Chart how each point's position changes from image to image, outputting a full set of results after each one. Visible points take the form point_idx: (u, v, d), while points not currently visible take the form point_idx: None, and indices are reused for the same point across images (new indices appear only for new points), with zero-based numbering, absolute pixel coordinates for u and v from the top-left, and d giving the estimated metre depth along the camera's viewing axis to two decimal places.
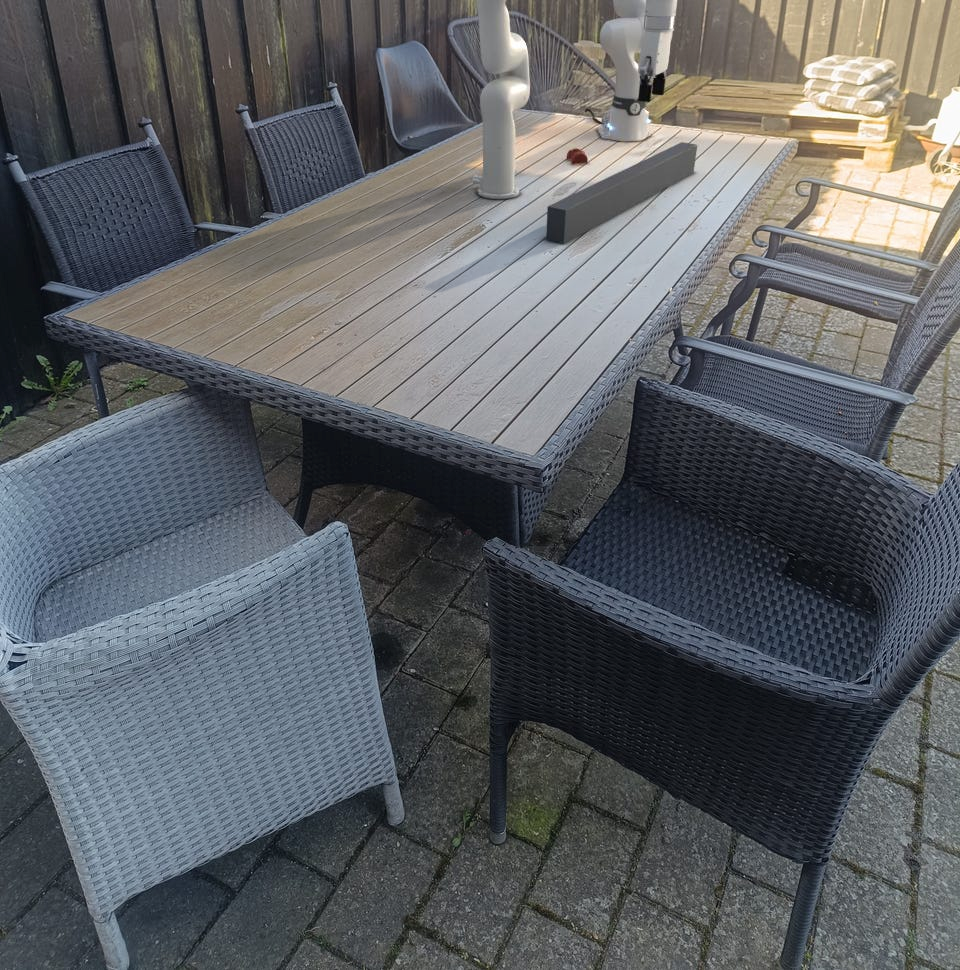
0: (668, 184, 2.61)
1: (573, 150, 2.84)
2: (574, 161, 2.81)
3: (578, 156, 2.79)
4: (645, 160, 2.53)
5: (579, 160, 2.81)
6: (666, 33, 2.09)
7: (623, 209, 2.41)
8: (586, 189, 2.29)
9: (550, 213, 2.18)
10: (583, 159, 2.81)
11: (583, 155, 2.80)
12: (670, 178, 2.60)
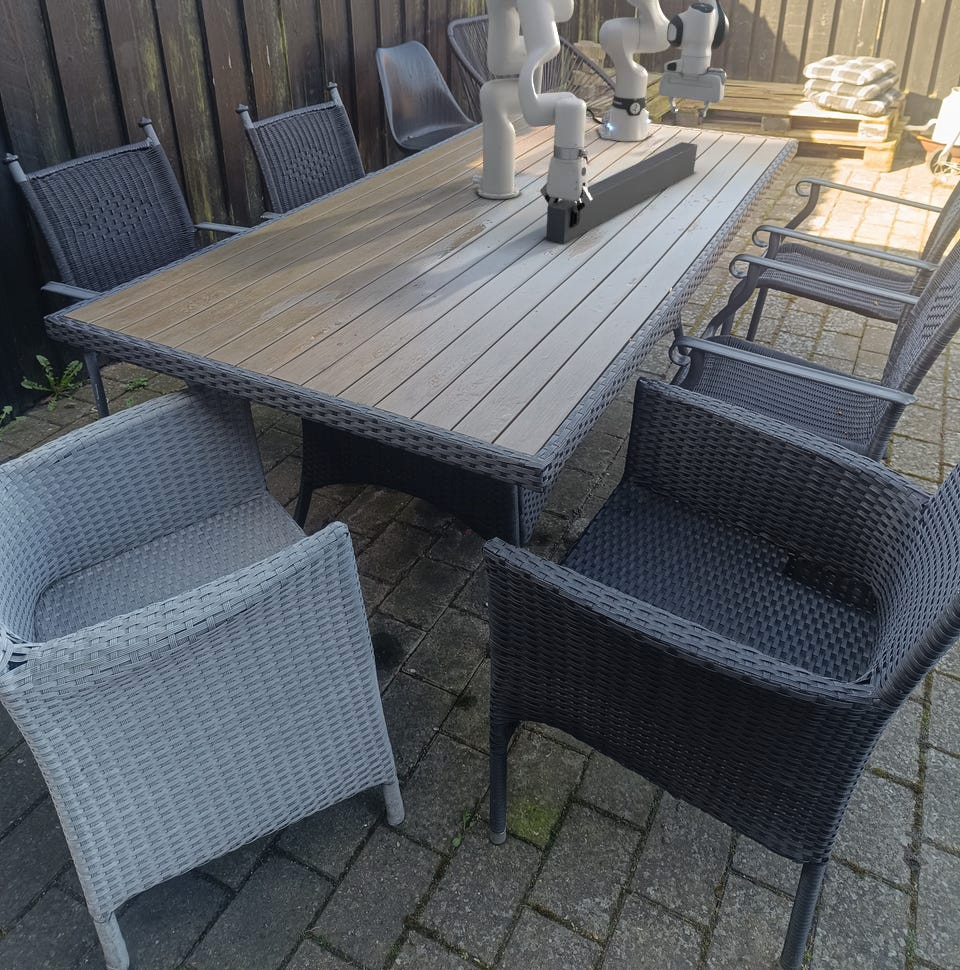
0: (668, 184, 2.61)
1: None
2: None
3: None
4: (645, 160, 2.53)
5: None
6: (559, 161, 2.11)
7: (623, 209, 2.41)
8: None
9: (550, 213, 2.18)
10: None
11: None
12: (670, 178, 2.60)
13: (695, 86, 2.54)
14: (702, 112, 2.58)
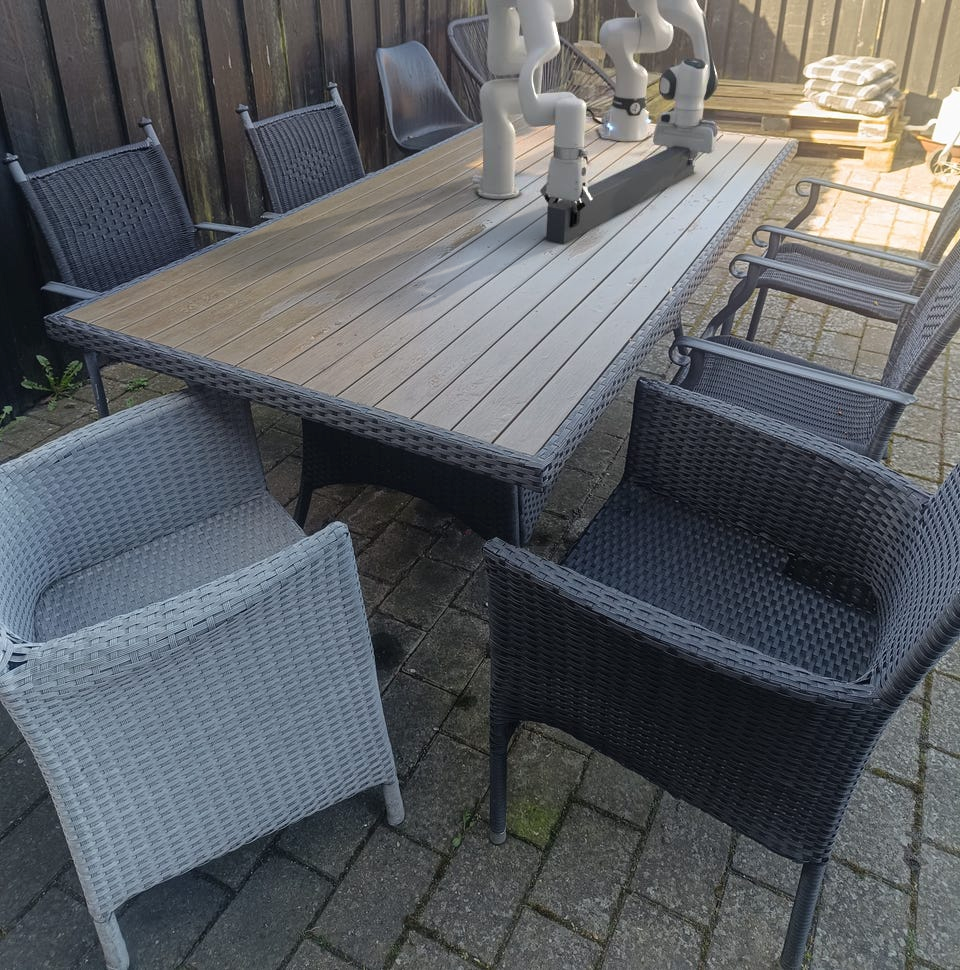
0: (668, 184, 2.61)
1: None
2: None
3: None
4: (645, 160, 2.53)
5: None
6: (559, 161, 2.11)
7: (623, 209, 2.41)
8: None
9: (550, 213, 2.18)
10: None
11: None
12: (670, 178, 2.60)
13: (688, 137, 2.63)
14: (691, 161, 2.67)
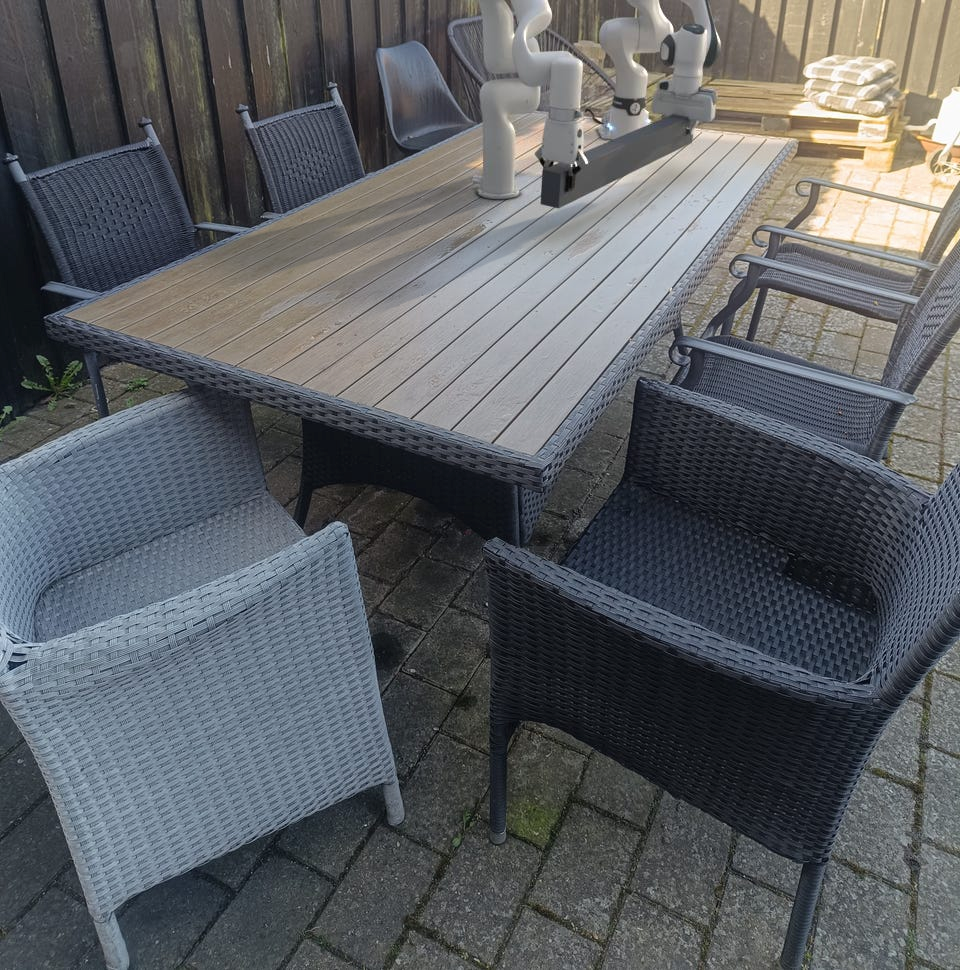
0: (666, 153, 2.56)
1: None
2: None
3: None
4: (643, 127, 2.48)
5: None
6: (555, 123, 2.06)
7: (620, 176, 2.37)
8: None
9: (544, 176, 2.13)
10: None
11: None
12: (668, 146, 2.55)
13: (687, 105, 2.58)
14: (690, 130, 2.62)
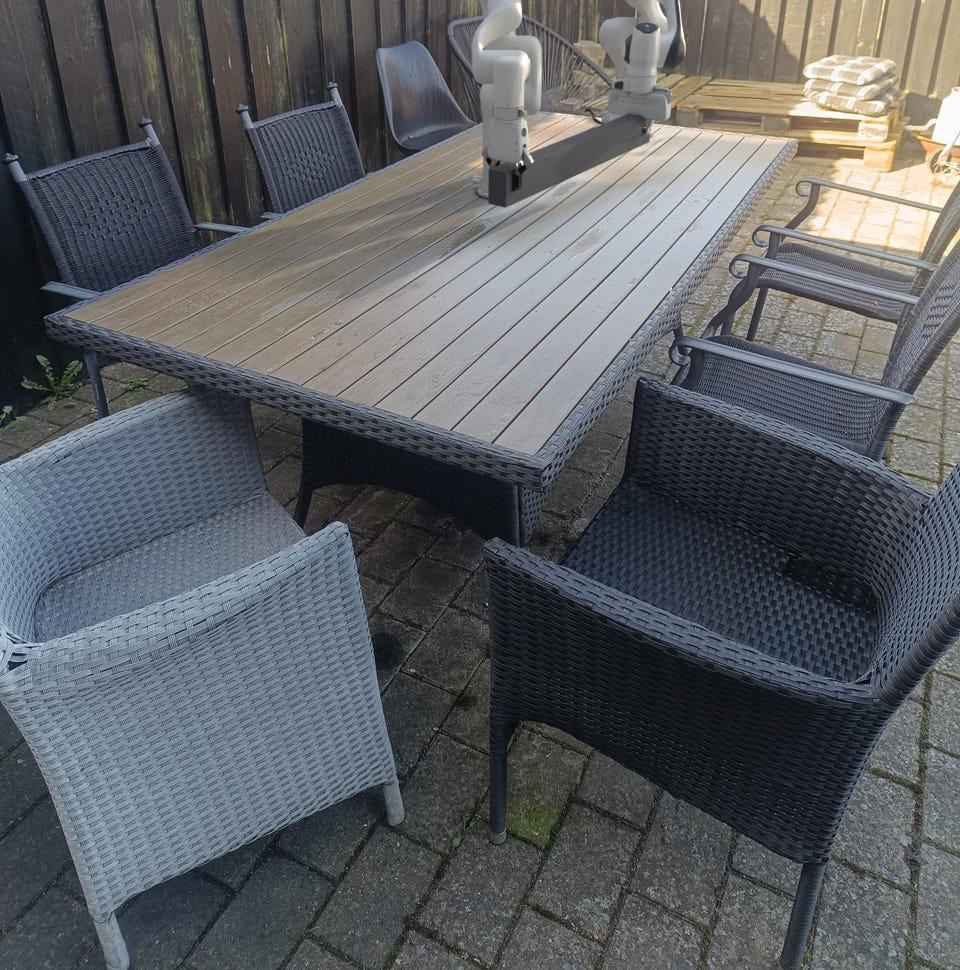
0: (621, 152, 2.56)
1: None
2: None
3: None
4: (596, 127, 2.48)
5: None
6: (499, 122, 2.06)
7: (571, 175, 2.37)
8: (531, 153, 2.24)
9: (491, 176, 2.13)
10: None
11: None
12: (623, 146, 2.55)
13: (642, 104, 2.58)
14: (646, 129, 2.62)
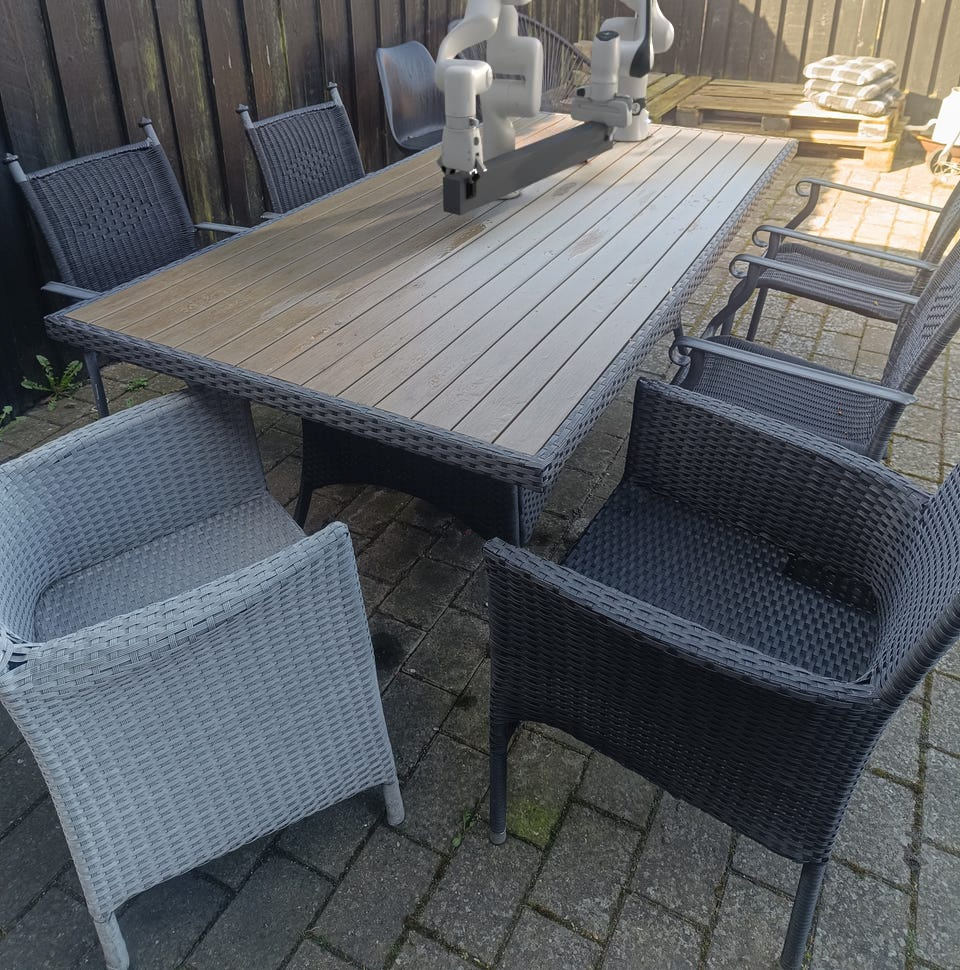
0: (583, 159, 2.57)
1: None
2: None
3: None
4: (557, 134, 2.50)
5: None
6: (451, 131, 2.08)
7: (530, 183, 2.38)
8: (487, 161, 2.26)
9: (445, 184, 2.15)
10: None
11: None
12: (584, 153, 2.57)
13: (604, 111, 2.59)
14: (608, 136, 2.63)
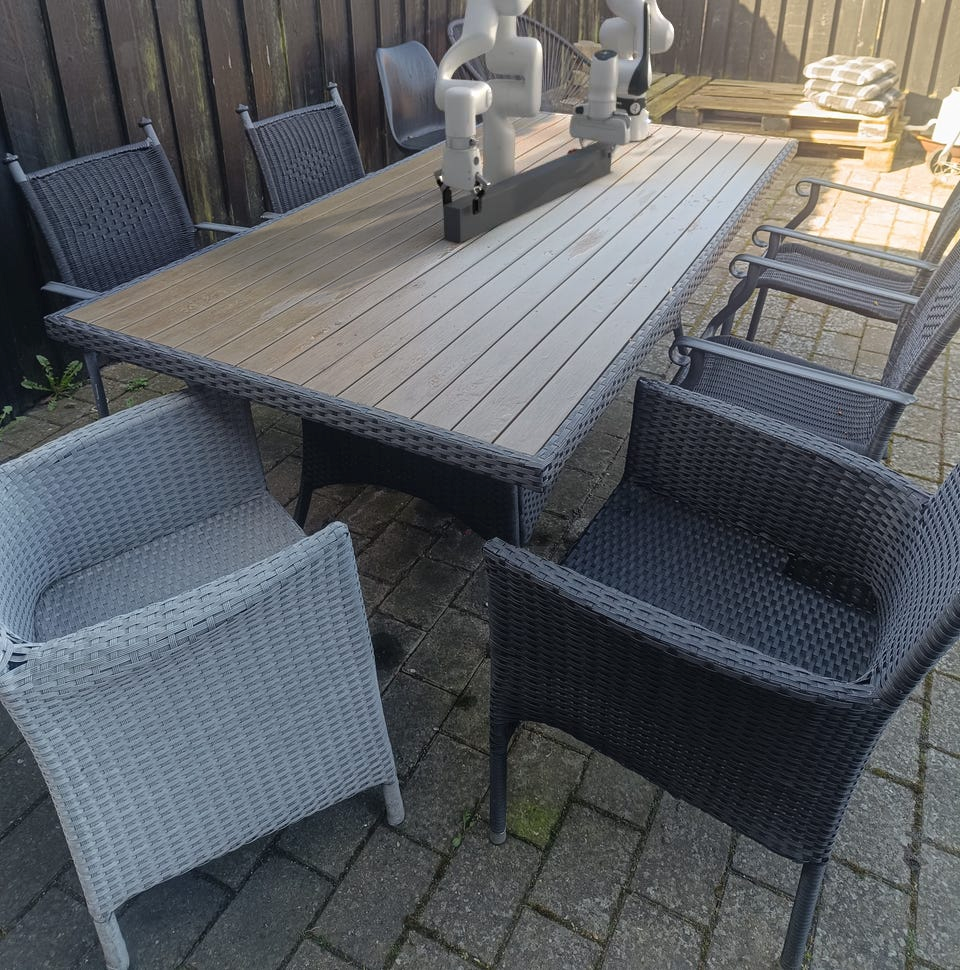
0: (581, 183, 2.61)
1: (573, 150, 2.84)
2: None
3: None
4: (555, 159, 2.54)
5: None
6: (451, 151, 2.11)
7: (529, 208, 2.42)
8: None
9: (445, 212, 2.19)
10: None
11: None
12: (582, 177, 2.61)
13: (602, 129, 2.62)
14: (610, 154, 2.66)
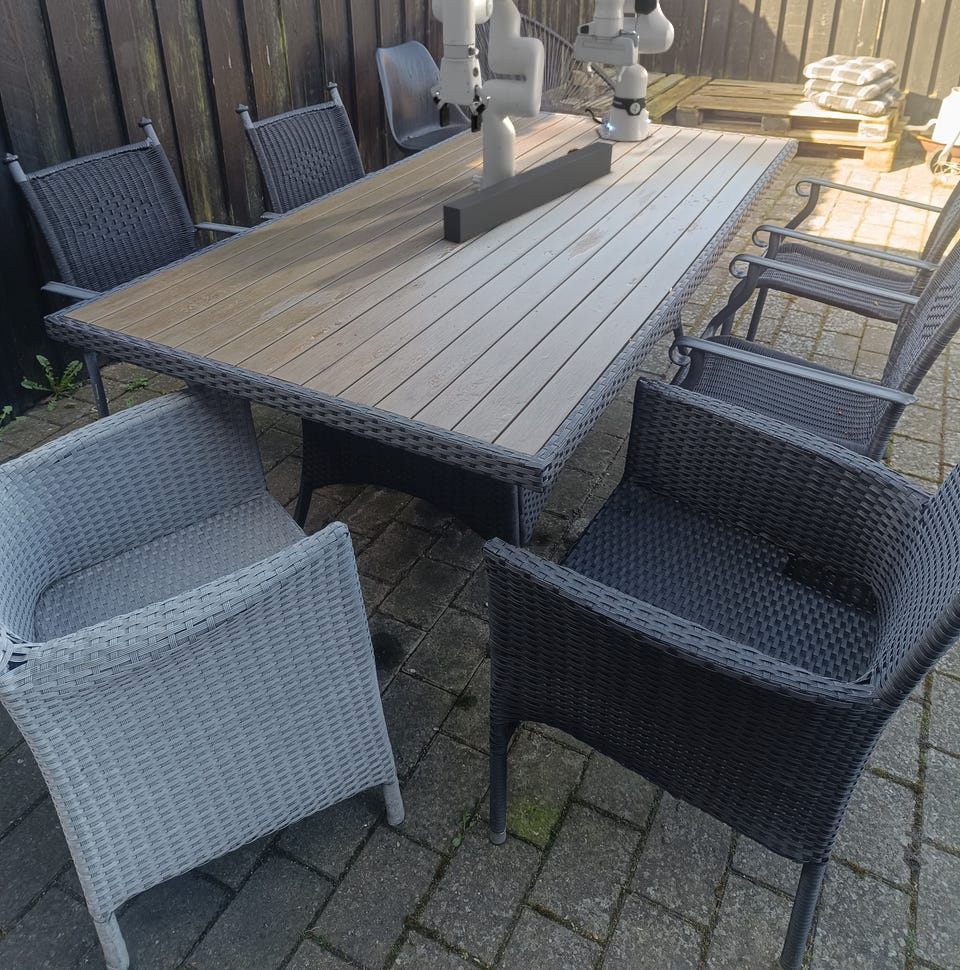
0: (581, 183, 2.61)
1: (573, 150, 2.84)
2: None
3: None
4: (555, 159, 2.54)
5: None
6: (449, 62, 1.99)
7: (529, 208, 2.42)
8: (487, 188, 2.30)
9: (445, 212, 2.19)
10: None
11: None
12: (582, 177, 2.61)
13: (608, 49, 2.49)
14: (617, 76, 2.52)
